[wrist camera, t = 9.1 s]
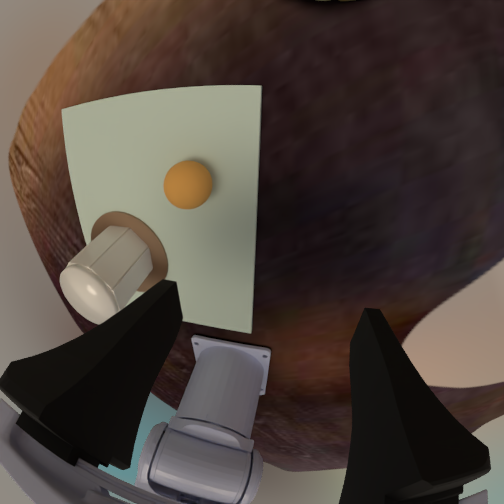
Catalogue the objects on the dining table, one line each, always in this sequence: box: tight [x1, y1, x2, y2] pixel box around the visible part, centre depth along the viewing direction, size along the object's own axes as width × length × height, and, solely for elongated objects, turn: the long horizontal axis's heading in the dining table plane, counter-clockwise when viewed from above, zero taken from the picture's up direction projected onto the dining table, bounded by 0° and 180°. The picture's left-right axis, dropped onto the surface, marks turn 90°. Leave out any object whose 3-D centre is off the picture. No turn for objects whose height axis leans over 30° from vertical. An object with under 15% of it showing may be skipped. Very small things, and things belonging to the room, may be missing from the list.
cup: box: [60, 226, 153, 325], centre depth 19 cm, size 5×5×6 cm
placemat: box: [62, 85, 262, 333], centre depth 20 cm, size 20×16×1 cm
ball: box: [163, 161, 212, 209], centre depth 16 cm, size 3×3×3 cm
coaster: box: [91, 211, 168, 292], centre depth 22 cm, size 8×8×1 cm
